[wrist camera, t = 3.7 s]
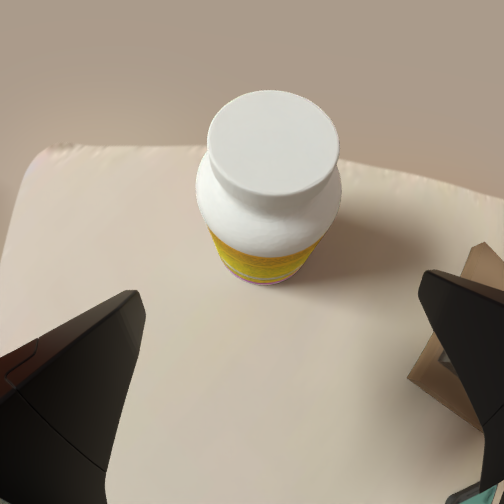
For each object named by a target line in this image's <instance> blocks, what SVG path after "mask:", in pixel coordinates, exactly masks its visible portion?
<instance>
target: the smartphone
mask: <svg viewBox="0 0 504 504" xmlns="http://www.w3.org/2000/svg"><path fill="white" fill-rule="evenodd" d="M479 485H480V481H479V482H477V483H475V484H473V485H471V486H469V487H467V488H465V489H463V490H461V491H459V492H457V493H455V494H452V495H451V496H449V497H448V499H447V500H446V502H445V504H492V501H493V498H494V495H495V492H496V489H497V486H498V484H496V485H495V486H493V487H491V488H490V489H488V490H486V491H484V492H483V493H481V494H480V493H479Z"/></svg>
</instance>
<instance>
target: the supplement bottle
mask: <svg viewBox="0 0 504 504" xmlns="http://www.w3.org/2000/svg"><path fill="white" fill-rule="evenodd" d="M207 148H208V150H207V152H206V153H205V155H204V157H203V158H202V161H201V163H200V165H199V168H198V172H197V176H196V197H197V203H198V206H199V209H200V212H201V214H202V216H203V219H204V221H205V223H206V225H207V228H208V230H209V232H210V235H211V237H212V239H213V242H214V244H215V247H216V249H217V251H218V254H219V256H220V258H221V260H222V262H223V263H224V265H225V266H226V268H227V269H228V270H229V271H230V272H231V273H232V274H233V275H235V276H236V277H237V278H239V279H241V280H243V281H245V282H248V283H251V284H256V285H272V284H276V283H279V282H282V281H284V280H286V279H288V278H289V277H291V276H292V275H294V274H295V273H296V272H297V271H298V270H299V269H300V268H301V266H302V265H303V264H304V262H305V261H306V259H307V258H308V257H309V255H310V254H311V252H312V251H313V250H314V248H315V247H316V245H317V244H318V243H319V241H320V240H321V238H322V237H323V236H324V234H325V233H326V232H327V230H328V229H329V227H330V226H331V224H332V222H333V221H334V219H335V217H336V215H337V212H338V209H339V206H340V201H341V193H342V189H341V178H340V174H339V171H338V168H337V161H338V158H339V152H340V142H339V137H338V133H337V130H336V128H335V126H334V124H333V122H332V121H331V119H330V118H329V117H328V115H327V114H326V113H325V112H324V111H323V110H322V109H320V108H319V107H318V106H317V105H315V104H314V103H313V102H311V101H310V100H308V99H306V98H304V97H301V96H299V95H296V94H293V93H289V92H284V91H277V90H263V91H256V92H251V93H247V94H245V95H242V96H239V97H237V98H236V99H234V100H232V101H230V102H229V103H228V104H226V105H225V106H224V107H223V108H222V109H221V110H220V111H219V112H218V113H217V114H216V116H215V117H214V119H213V120H212V123H211V125H210V128H209V131H208V137H207Z"/></svg>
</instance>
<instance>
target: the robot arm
mask: <svg viewBox="0 0 504 504" xmlns="http://www.w3.org/2000/svg"><path fill="white" fill-rule="evenodd" d="M418 297H419V300H420V302H421V304H422V306H423V309H424V311H425V313H426V315H427V317H428V320H429V322H430V324H431V326H432V329H433V331H434V332H435V334H436V336H437V338H438V340H439V342H440V343H441V345H442V347H443V349H444V351H445V352H446V354H447V356H448V358H449V360H450V362H451V364H452V366H453V368H454V370H455V371H456V373H457V375H458V377H459V379H460V381H461V383H462V385H463V388H464V390H465V392H466V394H467V396H468V398H469V400H470V402H471V404H472V407H473V409H474V411H475V413H476V416H477V418H478V420H479V422H480V425H481V427H482V430H483V433H484V438H485V446H484V456H483V465H482V472H481V479H480V485H479V493H480V494H481V493H483V492H484V491H486V490H488V489H490V488H491V487H493V486H495V485H496V484H498V483H500V482H501V481H503V480H504V291H502V290H499V289H496V288H493V287H490V286H487V285H484V284H481V283H478V282H475V281H471V280H468V279H465V278H462V277H459V276H455V275H452V274H449V273H446V272H442V271H439V270H435V269H433V270H426V271H425V272H424V274H423V277H422V280H421V284H420V287H419V290H418ZM145 319H146V313H145V309H144V306H143V303H142V300H141V297H140V294H139V292H138V291H137V290H125V291H123V292H121V293H119V294H117V295H116V296H114V297H112V298H110V299H108V300H106V301H104V302H103V303H101V304H99V305H97V306H95V307H93V308H91V309H90V310H88V311H86V312H84V313H82V314H80V315H79V316H77V317H75V318H73V319H71V320H69V321H68V322H66V323H64V324H62V325H60V326H58V327H57V328H55V329H53V330H51V331H49V332H48V333H46V334H44V335H42V336H41V337H39V339H38V338H36V339H34V340H32V341H31V342H29V343H27V344H25V345H23V346H22V347H20V348H18V349H16V350H14V351H12V352H10V353H8V354H6V355H4V356H2V357H1V358H0V504H107V499H106V493H105V478H106V472H107V468H108V464H109V460H110V455H111V451H112V447H113V443H114V439H115V435H116V432H117V428H118V424H119V420H120V417H121V413H122V409H123V406H124V402H125V399H126V395H127V392H128V388H129V385H130V382H131V378H132V375H133V372H134V369H135V365H136V362H137V359H138V355H139V351H140V345H141V340H142V335H143V330H144V324H145ZM499 504H504V492H503V495H502V497H501V500H500V503H499Z"/></svg>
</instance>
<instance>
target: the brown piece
mask: <svg viewBox="0 0 504 504" xmlns="http://www.w3.org/2000/svg"><path fill="white" fill-rule="evenodd" d="M460 277H462V278H465V279H468V280H471V281H475V282H478V283H481V284H484V285H487V286H490V287H493V288H496V289H499V290H502V291H504V262H503V261H502V259H501V258H500V257H499V256H498V255H497V254H496V253H495V252H494V251H493V250H492V249H491V248H490V247H489V246H488V245H487V244H486V243H485V242H483V243H481V244H479V245H477V246H474V247H472V248H471V251H470V254H469V256H468V259H467V261H466V264H465V266H464V269H463V271H462V274H461V276H460ZM443 350H444V349H443V347H442V345H441V343H440V342H439V340H438V338H437V336H436V334H435V332H433V334H432V336H431V338H430V340H429V342H428V343H427V345H426V347H425V349H424V350H423V352H422V354H421V356H420V357H419V359H418V361H417V362H416V364H415V366H414V367H413V369H412V370H411V372H410V374H409V375H408V377H407V378H408V379H409V380H410V381H412V382H413V383H414V384H416V385H417V386H419V387H420V388H421V389H423V390H424V391H425V392H427V393H428V394H430V395H431V396H432V397H434V398H435V399H436V400H438V401H439V402H441V403H442V404H443V405H445V406H446V407H448V408H449V409H450V410H452V411H453V412H454V413H456V414H457V415H459V416H460V417H461V418H463V419H464V420H466V421H467V422H468V423H470V424H471V425H473V426H474V427H475V428H477V429H478V430H480V431H481V432H482V433H483V430H482V427H481V425H480V422H479V420H478V418H477V416H476V413H475V411H474V409H473V407H472V404H471V402H470V400H469V398H468V396H467V394H466V392H465V390H464V388H463V385H462V383H461V381H460V379H459V378H458V377H457V376H456V375H454V374H453V373H452V372H451V371H449V370H448V369H447V368H446V367H444V366H443V365H442V364H441V363H439V362H438V359H439V357H440V355H441V353H442V352H443Z"/></svg>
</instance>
